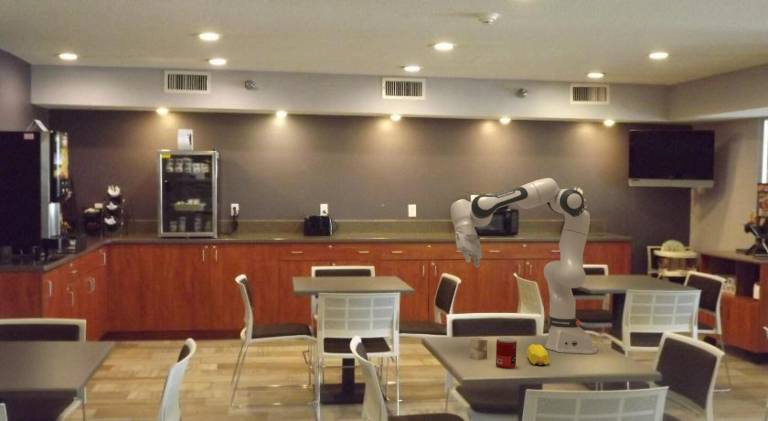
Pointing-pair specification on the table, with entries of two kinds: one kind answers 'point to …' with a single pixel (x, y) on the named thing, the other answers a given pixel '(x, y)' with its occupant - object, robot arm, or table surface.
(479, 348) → the beige cylinder
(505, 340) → the canned food
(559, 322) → the robot arm
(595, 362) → the table surface
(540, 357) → the yellow lumpy piece
